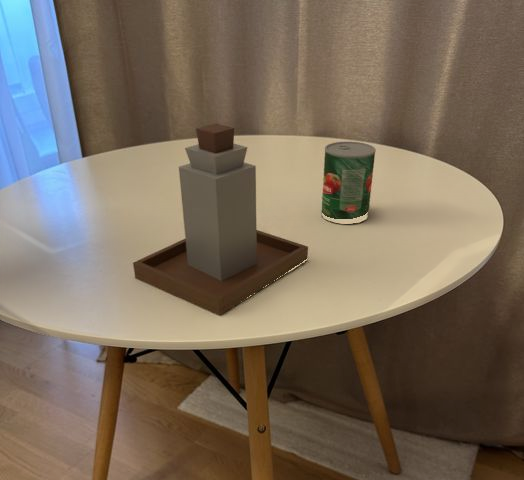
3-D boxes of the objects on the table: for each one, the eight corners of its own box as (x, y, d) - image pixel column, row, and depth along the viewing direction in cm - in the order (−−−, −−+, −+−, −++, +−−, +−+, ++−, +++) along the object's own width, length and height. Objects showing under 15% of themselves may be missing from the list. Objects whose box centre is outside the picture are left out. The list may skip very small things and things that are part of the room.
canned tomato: (378, 218, 91) (386, 150, 84) (341, 228, 87) (347, 158, 81) (347, 203, 96) (352, 138, 90) (311, 213, 93) (314, 146, 86)
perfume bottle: (221, 280, 72) (213, 139, 61) (187, 264, 76) (175, 128, 65) (256, 263, 76) (255, 127, 65) (223, 249, 80) (216, 118, 69)
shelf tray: (219, 315, 66) (219, 299, 65) (135, 277, 74) (132, 262, 73) (307, 261, 78) (308, 246, 77) (226, 233, 86) (225, 219, 85)
